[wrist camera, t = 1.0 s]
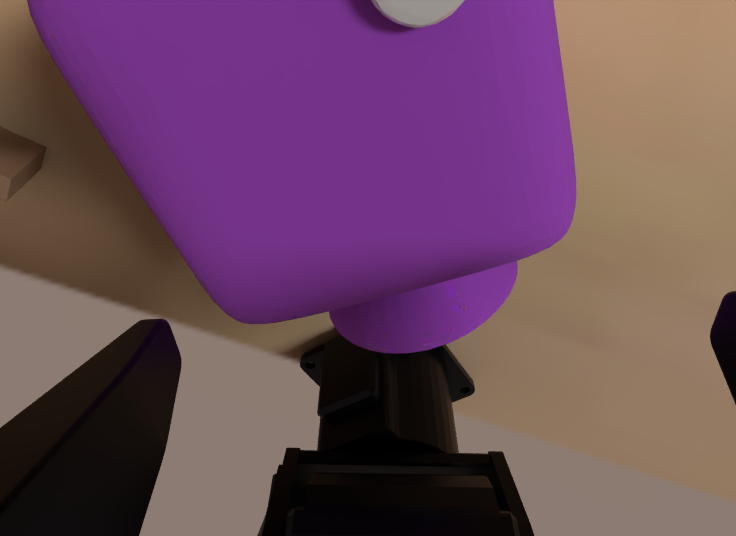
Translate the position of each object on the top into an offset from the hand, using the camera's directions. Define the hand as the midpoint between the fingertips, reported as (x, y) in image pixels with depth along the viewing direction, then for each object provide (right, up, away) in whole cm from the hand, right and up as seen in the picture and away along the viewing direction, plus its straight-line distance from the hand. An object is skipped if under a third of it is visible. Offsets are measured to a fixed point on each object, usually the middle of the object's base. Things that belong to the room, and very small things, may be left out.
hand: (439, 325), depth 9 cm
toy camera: (-1, +8, +10) cm, 13 cm away
